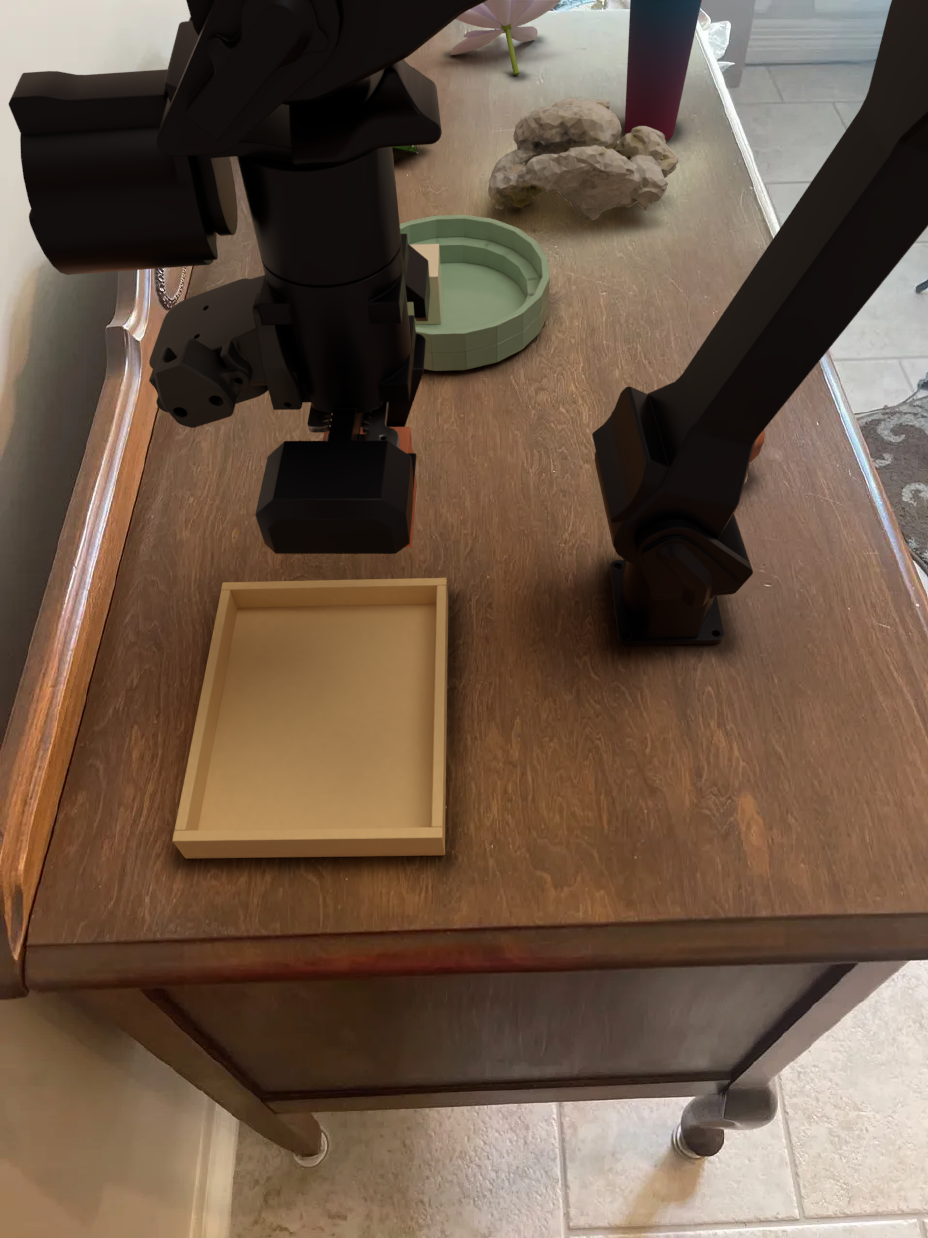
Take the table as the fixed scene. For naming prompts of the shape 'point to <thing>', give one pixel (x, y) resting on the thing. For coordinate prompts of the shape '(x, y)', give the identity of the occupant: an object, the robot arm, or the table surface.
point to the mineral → (582, 160)
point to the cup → (658, 61)
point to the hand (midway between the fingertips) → (374, 507)
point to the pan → (482, 290)
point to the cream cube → (431, 283)
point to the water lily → (502, 23)
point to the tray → (321, 722)
